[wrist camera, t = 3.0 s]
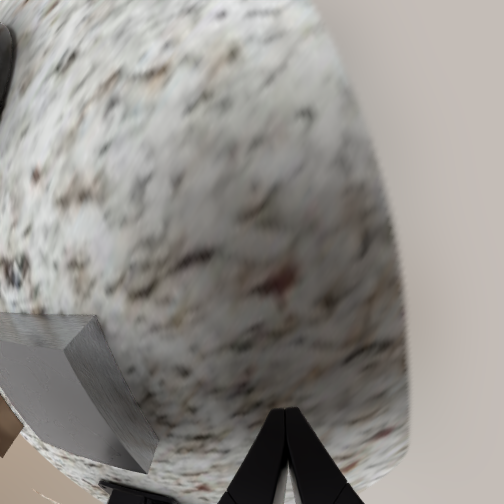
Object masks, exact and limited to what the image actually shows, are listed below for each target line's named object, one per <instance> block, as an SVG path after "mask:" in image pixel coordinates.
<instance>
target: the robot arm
mask: <svg viewBox="0 0 504 504" xmlns="http://www.w3.org/2000/svg"><path fill="white" fill-rule="evenodd" d="M288 465H289V472H290V477H291V482H292V487H293V492H294V497H295V502H296V504H364V502H363V501H362V500H361V499H360V497H359V496H358V495H357V493H356V492H355V491H354V490H353V488H352V487H351V485H350V484H349V483H347V480H346V478H345V477H344V475H343V474H342V473H341V471H340V470H339V468H338V467H337V465H336V464H335V462H334V461H333V459H332V458H331V456H330V455H329V453H328V452H327V450H326V449H325V447H324V446H323V444H322V443H321V441H320V440H319V438H318V437H317V435H316V434H315V432H314V431H313V429H312V428H311V426H310V424H309V423H308V421H307V420H306V418H305V417H304V415H303V414H302V412H301V410H300V409H299V408H298V407H287V408H285V409H284V408H274V409H271V411H270V412H269V414H268V416H267V418H266V420H265V422H264V424H263V426H262V428H261V430H260V432H259V434H258V436H257V437H256V439H255V441H254V443H253V445H252V447H251V448H250V450H249V452H248V454H247V456H246V457H245V459H244V461H243V463H242V464H241V466H240V468H239V470H238V471H237V473H236V475H235V476H234V478H233V480H232V481H231V483H230V485H229V486H228V488H227V491H226V492H225V493H224V494H223V496H222V497H221V499H220V501H219V502H218V503H217V504H284V498H285V490H286V482H287V473H288ZM98 485H99V486H100V487H101V488H102V489H104V490H105V491H106V492H107V493H108V494H110V497H109V500H108V502H107V504H178V503H177V502H175V501H174V500H173V499H171V498H168V497H163V496H158V495H153V494H148V493H144V492H140V491H135V490H132V489H128V488H124V487H120V486H117V485H114V484H110V483H107V482H104V481H99V484H98Z"/></svg>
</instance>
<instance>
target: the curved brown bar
mask: <svg viewBox="0 0 504 504" xmlns="http://www.w3.org/2000/svg"><path fill="white" fill-rule="evenodd" d="M23 427H24V426H23V425H22V423H21V422H20V421H19V420H18V418H17V417H16V416H15V414H14V413H13V412H12V410H11V409H10V408H9V406H8V405H7V404H6V402H5V401H4V399H3V398H2V396H1V395H0V457H2V458H3V456H4V455H5V453H6V452H7V450H8V449H9V447H10V446H11V444H12V443H13V441H14V440H15V438H16V437H17V436H18V434H19V433H20V431H21V430H22V428H23Z"/></svg>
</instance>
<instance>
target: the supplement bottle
mask: <svg viewBox="0 0 504 504" xmlns="http://www.w3.org/2000/svg"><path fill="white" fill-rule="evenodd" d="M12 49H13V47H12V38H11V34H10V31H9V30H8V28H7V27H6V26H5V25H4V24H3V23H1V22H0V108H1V104H2V101H3V98H4V95H5V91H6V87H7V83H8V79H9V74H10V69H11V63H12Z"/></svg>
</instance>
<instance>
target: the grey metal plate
mask: <svg viewBox="0 0 504 504" xmlns="http://www.w3.org/2000/svg"><path fill="white" fill-rule="evenodd" d="M0 387H1V388H2V390H3V391H4V393H5V394H6V396H7V397H8V398H9V400H10V401H11V403H12V404H13V406H14V407H15V408H16V410H17V411H18V412H19V414H20V415H21V416H22V418H23V419H24V420H25V421H26V423H27V424H28V425H29V426H30V428H31V429H32V430H33V431H34V432H35V434H36V435H37V436H38V437H39V438H40V439H41V440H42V441H44V442H46V443H48V444H51V445H53V446H55V447H58V448H60V449H63V450H65V451H68V452H71V453H73V454H76V455H79V456H82V457H85V458H88V459H91V460H94V461H97V462H100V463H104V464H107V465H111V466H114V467H118V468H122V469H126V470H130V471H134V472H139V473H144V474H148V472H149V469H150V466H151V463H152V460H153V457H154V454H155V451H156V448H157V445H158V442H159V439H158V437H157V436H156V434H155V432H154V431H153V429H152V428H151V426H150V424H149V423H148V421H147V420H146V418H145V416H144V414H143V413H142V411H141V409H140V408H139V406H138V404H137V402H136V400H135V399H134V397H133V395H132V393H131V391H130V389H129V388H128V386H127V384H126V382H125V380H124V378H123V376H122V374H121V372H120V370H119V368H118V366H117V364H116V361H115V359H114V357H113V355H112V353H111V351H110V348H109V346H108V344H107V341H106V339H105V337H104V334H103V332H102V330H101V327H100V325H99V322H98V320H97V317H96V315H50V314H20V313H1V312H0Z"/></svg>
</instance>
